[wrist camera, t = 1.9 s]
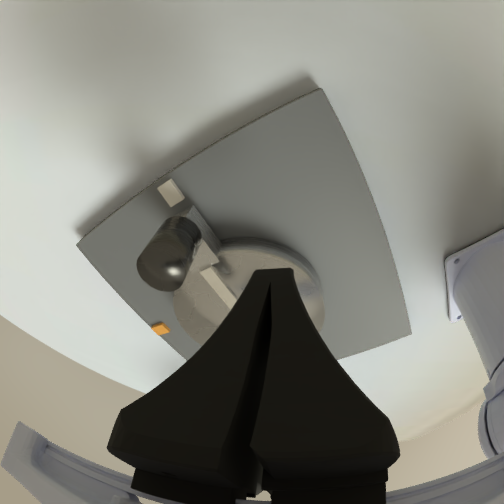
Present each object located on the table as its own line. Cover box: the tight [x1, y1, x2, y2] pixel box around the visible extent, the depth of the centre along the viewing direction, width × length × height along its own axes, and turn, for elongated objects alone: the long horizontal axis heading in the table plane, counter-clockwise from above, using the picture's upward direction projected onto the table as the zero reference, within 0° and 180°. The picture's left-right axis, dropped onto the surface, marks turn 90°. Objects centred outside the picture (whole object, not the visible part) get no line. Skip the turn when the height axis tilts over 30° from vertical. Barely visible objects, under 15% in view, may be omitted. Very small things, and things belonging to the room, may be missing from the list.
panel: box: [76, 88, 412, 361], centre depth 20 cm, size 20×20×2 cm
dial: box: [136, 205, 325, 346], centre depth 17 cm, size 13×10×5 cm
